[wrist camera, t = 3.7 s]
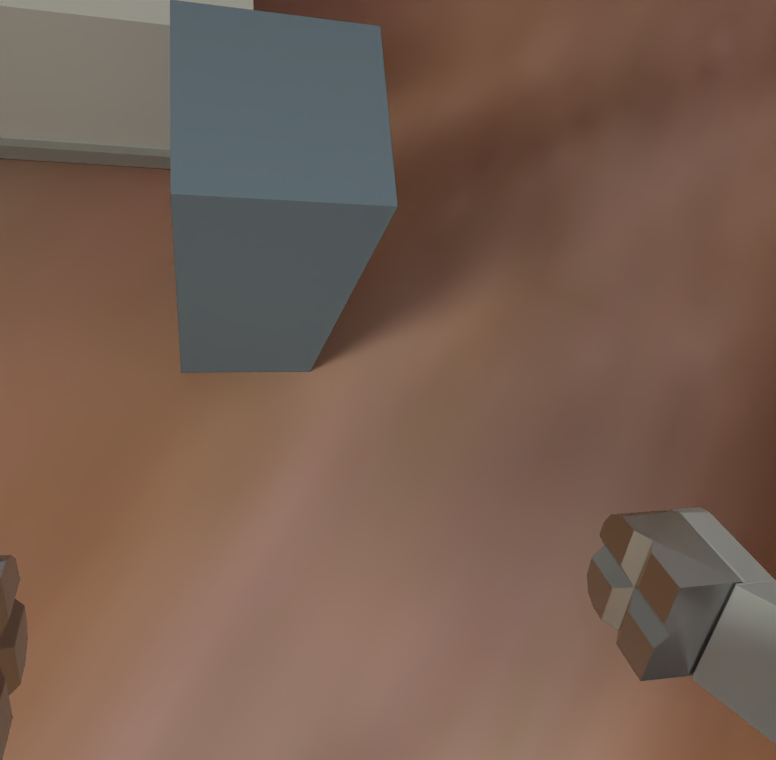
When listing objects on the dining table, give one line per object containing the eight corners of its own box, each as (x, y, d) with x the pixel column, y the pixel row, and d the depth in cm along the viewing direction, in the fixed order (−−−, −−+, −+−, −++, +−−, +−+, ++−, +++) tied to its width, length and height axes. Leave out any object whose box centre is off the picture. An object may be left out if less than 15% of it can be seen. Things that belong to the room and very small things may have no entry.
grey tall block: (181, 372, 25) (170, 193, 13) (180, 254, 26) (169, -1, 15) (310, 371, 26) (397, 206, 15) (303, 258, 27) (380, 25, 16)
